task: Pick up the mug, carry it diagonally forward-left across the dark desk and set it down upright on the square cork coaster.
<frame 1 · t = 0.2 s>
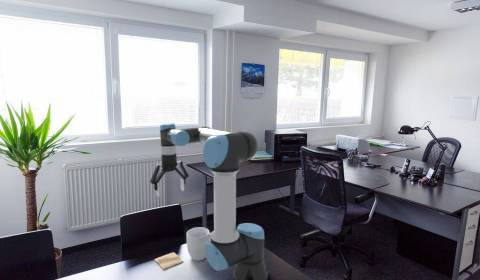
hand: (170, 193, 156), 27 cm above the table, fingers open, 13 cm apart
coaster: (168, 261, 143), on the table
mug: (200, 256, 147), on the table
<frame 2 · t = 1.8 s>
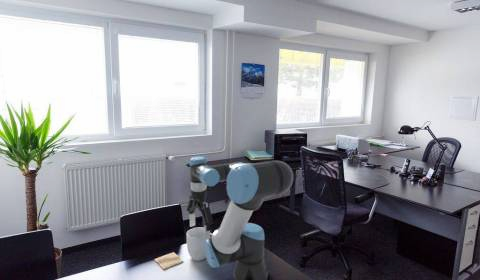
hand: (199, 231, 145), 13 cm above the table, fingers open, 13 cm apart
nothing on the table moved.
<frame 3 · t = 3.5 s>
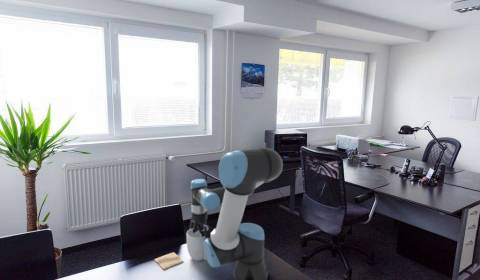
hand: (200, 253, 147), 1 cm above the table, fingers closed on mug, 11 cm apart
mug: (200, 256, 147), on the table, touching gripper
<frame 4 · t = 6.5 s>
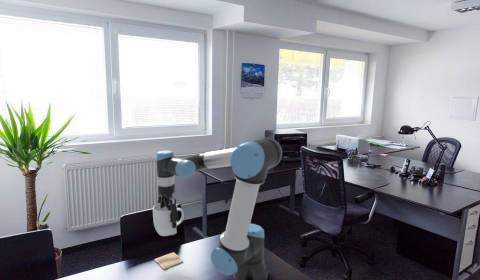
hand: (168, 229, 141), 16 cm above the table, fingers closed on mug, 11 cm apart
mug: (168, 232, 141), point 15 cm above the table, touching gripper
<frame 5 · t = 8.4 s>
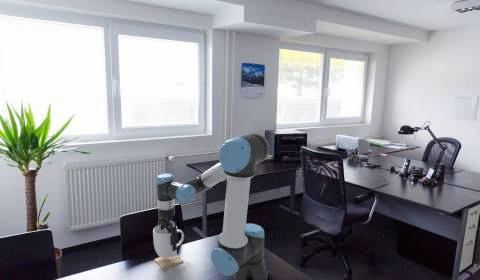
hand: (168, 250, 142), 5 cm above the table, fingers closed on mug, 11 cm apart
mug: (168, 254, 143), point 4 cm above the table, touching gripper
when the fingers open (3 cm above the table, at t = 9.8 s): mug drops 1 cm, resting on coaster.
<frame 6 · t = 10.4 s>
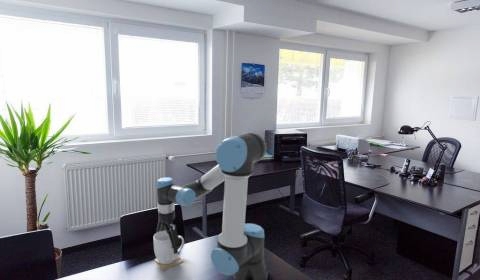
hand: (168, 252, 142), 4 cm above the table, fingers open, 13 cm apart
mug: (168, 260, 143), point 1 cm above the table, touching coaster
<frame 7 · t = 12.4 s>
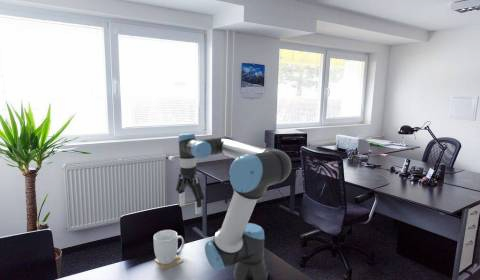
hand: (190, 209, 143), 24 cm above the table, fingers open, 13 cm apart
nothing on the table moved.
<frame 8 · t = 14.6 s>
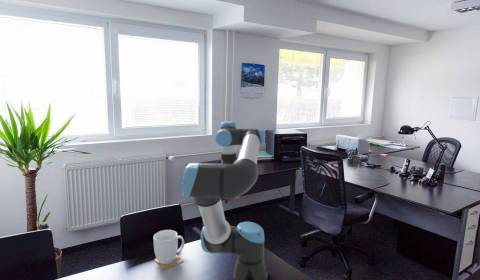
hand: (228, 193, 152), 29 cm above the table, fingers open, 13 cm apart
nothing on the table moved.
at the end: mug inside the target area on the coaster (0.0 cm from its centre), point 0.5 cm above the coaster's base; mug tilted 0°; the gripper is holding nothing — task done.
